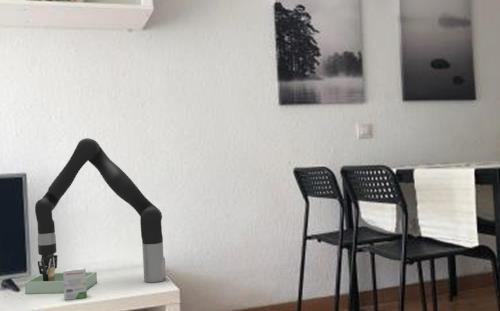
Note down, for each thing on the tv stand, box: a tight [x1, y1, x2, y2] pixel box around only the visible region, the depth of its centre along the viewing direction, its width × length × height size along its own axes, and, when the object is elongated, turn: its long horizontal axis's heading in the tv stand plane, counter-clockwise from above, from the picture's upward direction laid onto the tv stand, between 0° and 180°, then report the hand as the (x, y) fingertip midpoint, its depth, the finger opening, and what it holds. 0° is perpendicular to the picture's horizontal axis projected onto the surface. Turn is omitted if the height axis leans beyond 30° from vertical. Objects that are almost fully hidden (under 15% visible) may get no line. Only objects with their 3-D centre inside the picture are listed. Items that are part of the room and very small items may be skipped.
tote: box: [24, 271, 98, 295], centre depth 225 cm, size 26×16×5 cm, turn 85°
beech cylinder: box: [42, 266, 56, 281], centre depth 226 cm, size 5×5×7 cm
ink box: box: [62, 267, 88, 301], centre depth 209 cm, size 8×5×12 cm, turn 105°
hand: (49, 280), depth 226 cm, fingers closed on beech cylinder, 5 cm apart
